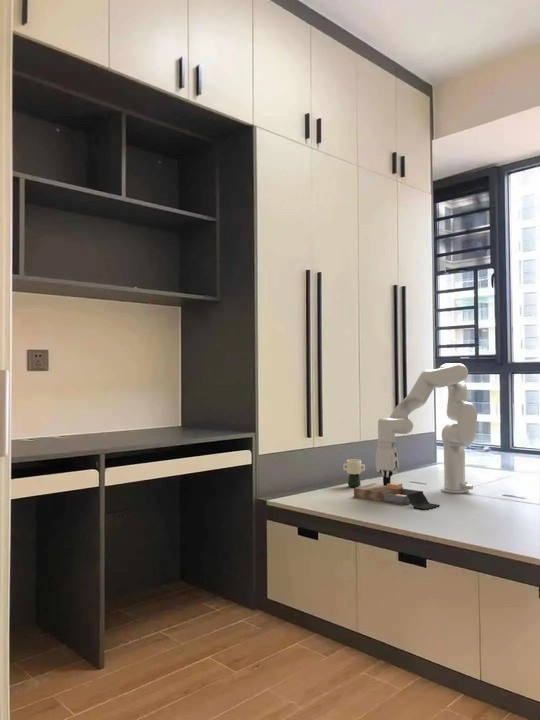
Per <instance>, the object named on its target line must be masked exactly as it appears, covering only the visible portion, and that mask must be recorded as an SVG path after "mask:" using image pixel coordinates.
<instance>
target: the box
mask: <svg viewBox="0 0 540 720" xmlns="http://www.w3.org/2000/svg"><path fill="white" fill-rule="evenodd" d="M421 491H422V492H423V493H424V491H423V490H417V489H410V488H409V489H408V488H404V487H403V489H402V492H403V495H406V496H398V495H392V494H384V502H383V503H388V502H390V504H395V503H396V505H401V504H402V506H406V505H408V503H409V504H411V502H410V500H409V499H408V497H407V495H408V494H413V493H417V492H421Z"/></svg>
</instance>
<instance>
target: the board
mask: <svg viewBox="0 0 540 720" xmlns="http://www.w3.org/2000/svg"><path fill="white" fill-rule="evenodd" d="M403 488H404V487H403V486H402V488H401V489H397V490H395V489H388V488H387V486H384V485H383V483H382V484H381V483H376V482H375V483H373V482H372V483H369V484H365V485H361V486H358V487H353V498H357V497H359V499H364V498H365V500H370V499H371V501H376V500H378V501H377V502H382V501H384V494H392V495H396V494H400V495H403V492H402V489H403Z"/></svg>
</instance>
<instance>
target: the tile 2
mask: <svg viewBox="0 0 540 720" xmlns="http://www.w3.org/2000/svg"><path fill="white" fill-rule="evenodd" d="M402 487H403V483H401V482H391V483H388V484H387V488H388V489H395V490H397V489H401V488H402Z"/></svg>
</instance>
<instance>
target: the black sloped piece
mask: <svg viewBox="0 0 540 720" xmlns="http://www.w3.org/2000/svg"><path fill="white" fill-rule="evenodd" d="M420 491H421V492H417V493H413V494H408V495H407V497H408V499H409V500H410V502H411V503H410V504H411V505H412V507H413V508H414V509H413V510H418V509H419V510H420V511H423V510H427V511H430V510H429V509H431V510H433V508H434V509H437V508H436V507H438V508H440V507H441V505H440V504H436V503H430V501H429V500H428V499H427V497H426V496H425V494H424V491H423V490H420ZM422 491H423V492H422ZM439 506H440V507H439Z"/></svg>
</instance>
